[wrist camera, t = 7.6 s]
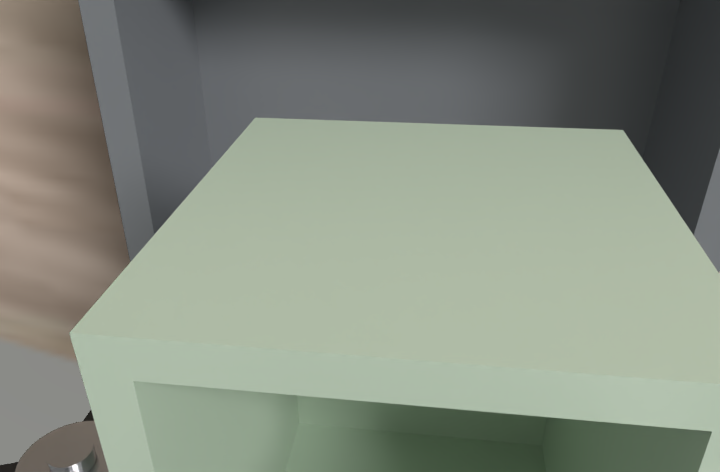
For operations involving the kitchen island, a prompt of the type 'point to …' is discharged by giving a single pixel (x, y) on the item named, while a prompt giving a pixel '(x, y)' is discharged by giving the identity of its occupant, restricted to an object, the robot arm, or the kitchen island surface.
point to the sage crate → (412, 310)
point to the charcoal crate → (403, 82)
